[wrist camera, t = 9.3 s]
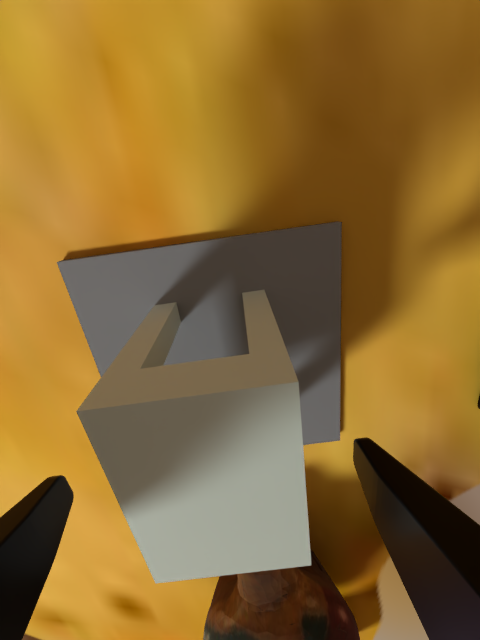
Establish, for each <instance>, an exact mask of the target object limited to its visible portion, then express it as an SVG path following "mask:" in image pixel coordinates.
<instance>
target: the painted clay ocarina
mask: <svg viewBox="0 0 480 640" xmlns="http://www.w3.org/2000/svg"><path fill="white" fill-rule="evenodd" d="M310 552H311V566H302V567H293V568H285V569H276V570H267V571H259V572H250V573H241V574H233V575H224V576H220V577H219V580H218V583H217V586H216V589H215V592H214V595H213V599H212V603H211V606H210V609H209V611H208V615H207V619H206V623H205V628H204V638H203V640H360V637H359V632H358V628H357V624H356V621H355V618H354V616H353V614H352V612H351V610H350V608H349V607H348V605H347V603H346V602H345V600H344V598H343V597H342V595H341V594H340V592H339V591H338V589H337V588H336V586H335V585H334V583H333V582H332V580H331V578H330V577H329V575H328V574H327V572H326V571H325V569H324V568H323V566H322V565H321V563H320V562H319V560H318V559H317V557H316V555H315V554H314V552H313V551H312V550H311V549H310Z"/></svg>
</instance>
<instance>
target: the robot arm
mask: <svg viewBox="0 0 480 640" xmlns="http://www.w3.org/2000/svg"><path fill="white" fill-rule="evenodd" d="M478 408H479V409H480V396H479V400H478ZM353 461H354V465H355V468H356V471H357V474H358V477H359V480H360V482H361V485H362V488H363V491H364V494H365V497H366V499H367V502H368V505H369V508H370V511H371V513H372V516H373V519H374V521H375V524H376V526H377V528H378V531H379V533H380V535H381V537H382V539H383V541H384V543H385V546H386V548H387V550H388V552H389V554H390V556H391V558H392V561H393V563H394V565H395V567H396V569H397V571H398V573H399V575H400V578H401V580H402V582H403V584H404V586H405V588H406V591H407V593H408V595H409V597H410V599H411V601H412V603H413V605H414V608H415V610H416V612H417V614H418V616H419V619H420V620H421V623H422V625H423V627H424V629H425V631H426V634H427V636H428V638H429V640H480V525H479V524H477V523H476V522H475V521H474V520H472V519H471V518H470V517H469V516H467V515H466V514H465V513H463V512H462V511H461V510H460V509H458V508H457V507H456V506H455V505H453V504H452V503H451V502H450V501H448V500H447V499H446V498H445V497H443V496H442V495H441V494H439V493H438V492H437V491H436V490H434V489H433V488H432V487H431V486H429V485H428V484H427V483H426V482H424V481H423V480H422V479H420V478H419V477H418V476H417V475H415V474H414V473H413V472H412V471H410V470H409V469H408V468H406V467H405V466H404V465H403V464H401V463H400V462H399V461H398V460H396V459H395V458H394V457H393V456H391V455H390V454H389V453H387V452H386V451H385V450H384V449H382V448H381V447H380V446H379V445H377V444H376V443H375V442H374V441H372V440H371V439H369V438H358V439H355V440H354V451H353ZM72 503H73V491H72V489H71V487H70V486H69V484H68V482H67V480H66V478H65V477H64V476H62V475H60V476H52V477H49V478H47V479H46V480H44V481H43V482H42V483H41V484H40V485H38V486H37V487H36V488H35V489H34V490H32V491H31V492H30V493H29V494H28V495H27V496H25V497H24V498H23V499H22V500H21V501H19V502H18V503H17V504H16V505H15V506H14V507H12V508H11V509H10V510H9V511H8V512H6V513H5V514H4V515H3V516H2V517H0V640H22V638H23V636H24V633H25V631H26V628H27V626H28V624H29V621H30V619H31V616H32V614H33V611H34V609H35V606H36V604H37V601H38V599H39V596H40V594H41V592H42V589H43V587H44V584H45V582H46V579H47V577H48V574H49V572H50V569H51V567H52V564H53V562H54V559H55V556H56V553H57V550H58V547H59V544H60V541H61V538H62V534H63V531H64V528H65V525H66V522H67V518H68V515H69V512H70V509H71V506H72Z"/></svg>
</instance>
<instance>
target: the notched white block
mask: <svg viewBox="0 0 480 640" xmlns="http://www.w3.org/2000/svg"><path fill="white" fill-rule="evenodd" d="M242 296H243V305H244V313H245V322H246V330H247V339H248V347H249V354H245V355H238V356H230V357H223V358H216V359H208V360H201V361H194V362H186V363H179V364H172V365H164V362H165V360H166V358H167V355H168V353H169V350H170V348H171V345H172V343H173V341H174V338H175V336H176V333H177V331H178V328H179V326H180V324H181V320H180V316H179V312H178V308H177V303H176V302H174V303H167V304H160V305H154V307H153V308H152V309H151V311H150V312H149V313H148V315H147V316H146V317H145V319H144V320H143V322H142V323H141V324H140V326H139V327H138V328H137V330H136V331H135V332H134V334H133V335H132V336H131V338H130V339H129V341H128V342H127V343H126V345H125V346H124V347H123V349H122V350H121V351H120V353H119V354H118V356H117V357H116V358H115V360H114V361H113V362H112V364H111V365H110V366H109V368H108V369H107V370H106V372H105V373H104V375H103V376H102V377H101V379H100V380H99V381H98V383H97V384H96V385H95V387H94V388H93V390H92V391H91V392H90V394H89V395H88V396H87V398H86V399H85V400H84V402H83V403H82V404H81V406H80V407H79V409H78V410H77V411H76V412H77V414H78V416H79V418H80V420H81V422H82V425H83V427H84V429H85V431H86V433H87V435H88V438H89V440H90V442H91V444H92V446H93V448H94V451H95V453H96V455H97V457H98V459H99V461H100V464H101V466H102V468H103V470H104V472H105V474H106V477H107V479H108V481H109V483H110V485H111V488H112V490H113V492H114V494H115V496H116V498H117V501H118V503H119V505H120V507H121V509H122V511H123V514H124V516H125V518H126V520H127V522H128V524H129V527H130V529H131V531H132V533H133V535H134V537H135V540H136V542H137V544H138V546H139V548H140V550H141V553H142V555H143V557H144V559H145V561H146V563H147V566H148V568H149V570H150V572H151V574H152V576H153V579H154V581H155V583H163V582H172V581H181V580H189V579H198V578H207V577H215V576H224V575H233V574H241V573H250V572H259V571H267V570H276V569H285V568H293V567H302V566H311V552H310V537H309V523H308V509H307V495H306V481H305V466H304V452H303V438H302V424H301V410H300V395H299V382H298V379H297V376H296V374H295V371H294V368H293V366H292V363H291V360H290V358H289V355H288V352H287V349H286V347H285V344H284V341H283V339H282V336H281V333H280V331H279V328H278V325H277V323H276V320H275V317H274V315H273V312H272V309H271V307H270V304H269V301H268V298H267V296H266V293H265V290H258V291H251V292H244V293H242ZM163 365H164V366H163Z"/></svg>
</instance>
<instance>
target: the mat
mask: <svg viewBox="0 0 480 640" xmlns="http://www.w3.org/2000/svg"><path fill="white" fill-rule="evenodd" d="M341 226H342V222H331V223H324V224H317V225H309V226H302V227H295V228H288V229H281V230H274V231H267V232H260V233H253V234H246V235H239V236H231V237H224V238H217V239H210V240H203V241H196V242H189V243H182V244H175V245H168V246H161V247H153V248H146V249H139V250H132V251H125V252H118V253H111V254H104V255H97V256H90V257H83V258H75V259H68V260H62V261H59V262H57V264H58V267H59V269H60V272H61V274H62V277H63V280H64V282H65V285H66V287H67V290H68V292H69V295H70V298H71V300H72V303H73V305H74V308H75V311H76V313H77V316H78V318H79V321H80V324H81V326H82V329H83V331H84V334H85V337H86V339H87V342H88V344H89V347H90V350H91V352H92V355H93V357H94V360H95V362H96V365H97V368H98V370H99V373H100V375H101V377H102V376H103V375H104V373H105V372H106V370H107V369H108V368H109V366H110V365H111V364H112V362H113V361H114V360H115V358H116V357H117V356H118V354H119V353H120V351H121V350H122V349H123V347H124V346H125V345H126V343H127V342H128V341H129V339H130V338H131V336H132V335H133V334H134V332H135V331H136V330H137V328H138V327H139V326H140V324H141V323H142V322H143V320H144V319H145V317H146V316H147V315H148V313H149V312H150V311H151V309H152V308H153V307H154V305H160V304H167V303H174V302H176V303H177V308H178V312H179V316H180V320H181V324H180V326H179V328H178V331H177V333H176V336H175V338H174V341H173V343H172V345H171V348H170V350H169V353H168V355H167V358H166V360H165V362H164V365H172V364H179V363H186V362H194V361H201V360H208V359H216V358H223V357H230V356H238V355H245V354H249V347H248V339H247V330H246V322H245V313H244V305H243V296H242V293H244V292H251V291H258V290H265V293H266V296H267V298H268V301H269V304H270V307H271V309H272V312H273V315H274V317H275V320H276V323H277V325H278V328H279V331H280V333H281V336H282V339H283V341H284V344H285V347H286V349H287V352H288V355H289V358H290V360H291V363H292V366H293V368H294V371H295V374H296V376H297V379H298V382H299V395H300V410H301V424H302V438H303V445H306V444H314V443H322V442H331V441H339V440H340V364H341ZM164 365H163V366H164Z"/></svg>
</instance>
